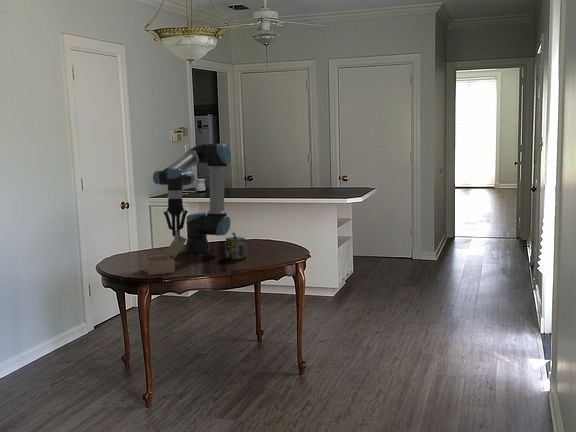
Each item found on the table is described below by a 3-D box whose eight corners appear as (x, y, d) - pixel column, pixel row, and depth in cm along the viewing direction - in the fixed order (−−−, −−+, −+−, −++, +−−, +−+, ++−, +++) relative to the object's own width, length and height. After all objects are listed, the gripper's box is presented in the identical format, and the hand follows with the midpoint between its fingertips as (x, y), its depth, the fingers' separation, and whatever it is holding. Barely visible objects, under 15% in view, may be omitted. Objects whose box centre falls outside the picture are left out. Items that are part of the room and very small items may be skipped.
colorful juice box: (246, 258, 357) (245, 233, 355) (231, 260, 353) (230, 234, 351) (241, 255, 365) (240, 230, 363) (226, 257, 362) (225, 232, 360)
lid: (177, 234, 339) (178, 235, 340) (165, 252, 338) (166, 253, 338) (185, 238, 327) (187, 239, 327) (173, 257, 325) (175, 258, 325)
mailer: (142, 270, 333) (142, 257, 332) (166, 267, 339) (166, 254, 338) (150, 275, 320) (149, 262, 319) (174, 272, 326) (174, 259, 325)
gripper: (165, 199, 323) (166, 244, 326) (189, 198, 328) (190, 242, 332) (161, 197, 329) (162, 242, 333) (184, 196, 335) (185, 240, 338)
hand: (176, 242), depth 332 cm, fingers closed
